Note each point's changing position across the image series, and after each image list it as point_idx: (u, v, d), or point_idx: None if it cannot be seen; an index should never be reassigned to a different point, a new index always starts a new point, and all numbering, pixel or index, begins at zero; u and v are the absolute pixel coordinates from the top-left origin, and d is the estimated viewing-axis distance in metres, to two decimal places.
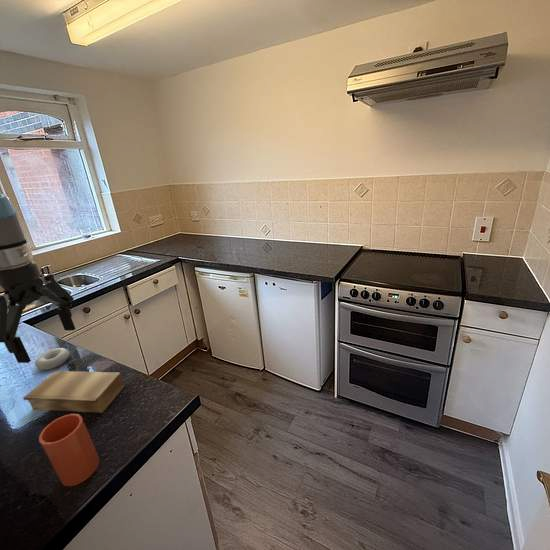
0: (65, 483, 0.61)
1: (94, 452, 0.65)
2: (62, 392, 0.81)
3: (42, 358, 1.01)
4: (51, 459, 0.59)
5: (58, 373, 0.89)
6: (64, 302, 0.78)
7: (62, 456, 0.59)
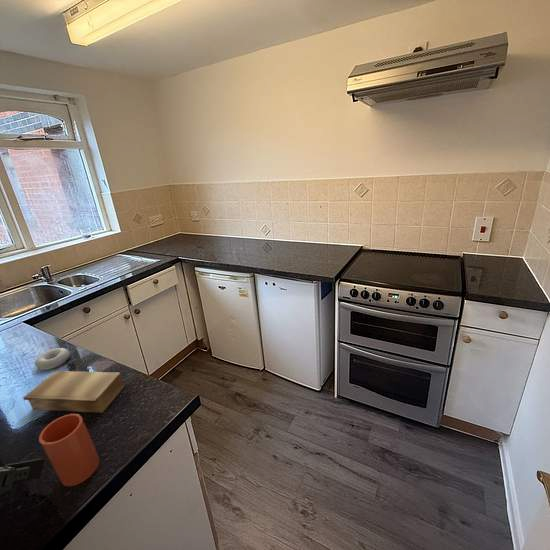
0: (65, 483, 0.61)
1: (94, 452, 0.65)
2: (62, 392, 0.81)
3: (42, 358, 1.01)
4: (51, 459, 0.59)
5: (58, 373, 0.89)
6: None
7: (62, 456, 0.59)
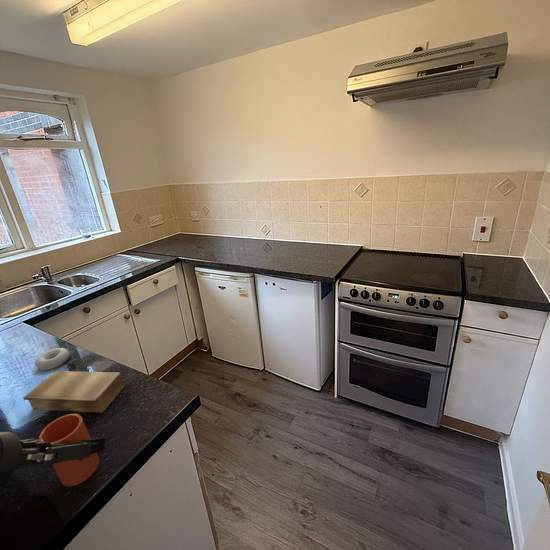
0: (65, 483, 0.61)
1: None
2: (62, 392, 0.81)
3: (42, 358, 1.01)
4: None
5: (58, 373, 0.89)
6: (38, 439, 0.61)
7: None
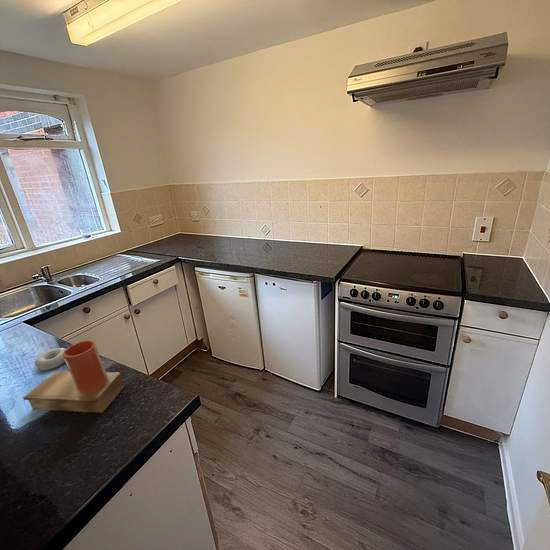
0: (82, 391, 0.80)
1: (104, 371, 0.83)
2: (62, 392, 0.81)
3: (42, 358, 1.01)
4: (72, 370, 0.77)
5: (58, 373, 0.89)
6: None
7: (80, 367, 0.77)
